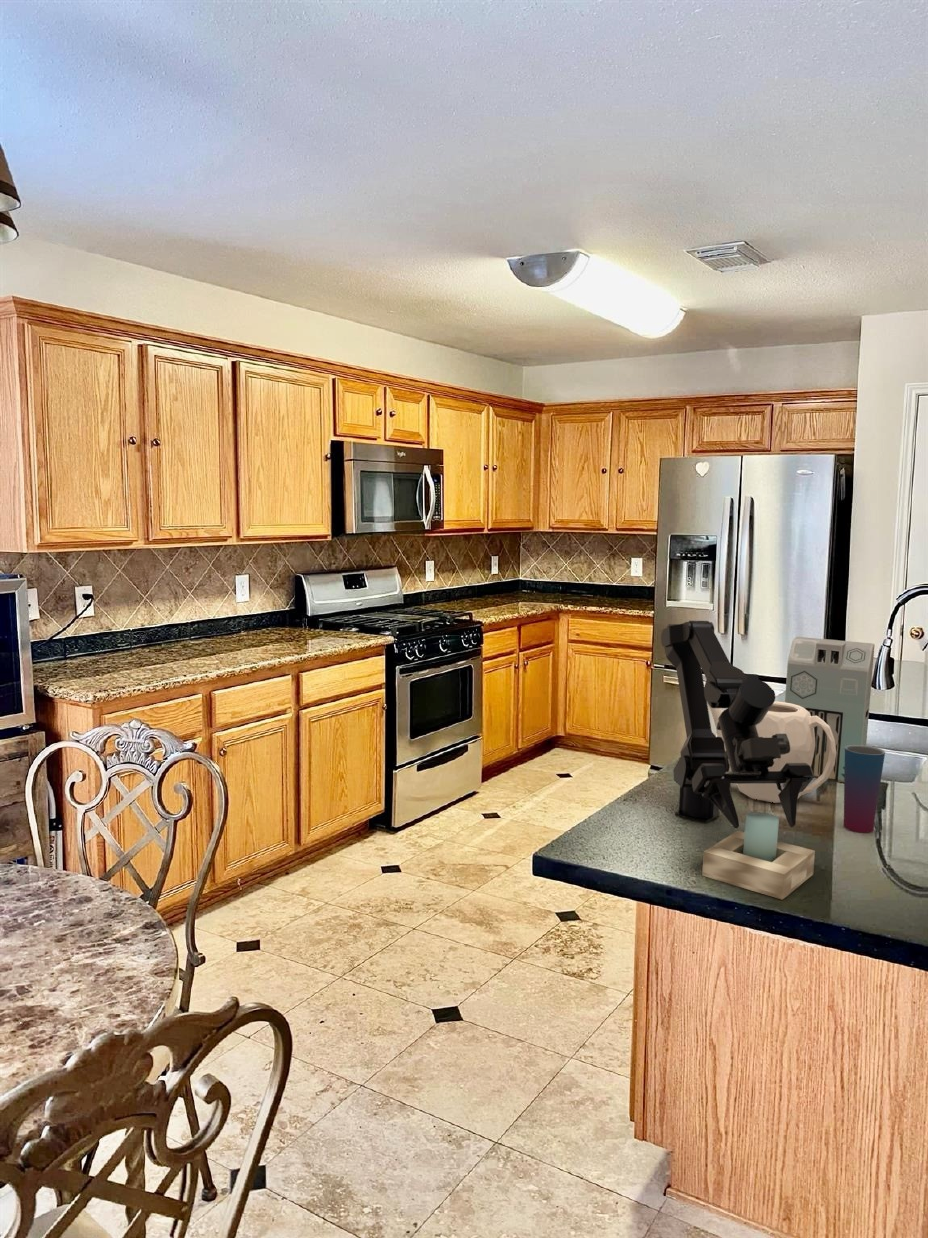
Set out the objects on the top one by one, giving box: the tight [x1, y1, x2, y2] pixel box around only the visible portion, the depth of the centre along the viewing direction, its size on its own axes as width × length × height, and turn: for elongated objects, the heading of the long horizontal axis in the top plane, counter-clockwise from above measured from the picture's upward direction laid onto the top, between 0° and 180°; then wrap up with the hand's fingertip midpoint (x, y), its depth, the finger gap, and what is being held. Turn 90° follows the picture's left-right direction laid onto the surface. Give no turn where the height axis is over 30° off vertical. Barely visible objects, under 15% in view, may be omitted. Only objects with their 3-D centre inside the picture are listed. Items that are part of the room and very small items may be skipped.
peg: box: [743, 811, 780, 862], centre depth 146 cm, size 5×5×9 cm
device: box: [784, 636, 876, 784], centre depth 201 cm, size 16×8×30 cm, turn 60°
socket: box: [701, 830, 816, 901], centre depth 146 cm, size 13×13×4 cm
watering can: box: [707, 700, 836, 804], centre depth 187 cm, size 16×27×19 cm, turn 59°
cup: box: [843, 744, 886, 834], centre depth 169 cm, size 7×7×15 cm
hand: (765, 826), depth 144 cm, fingers open, 9 cm apart
